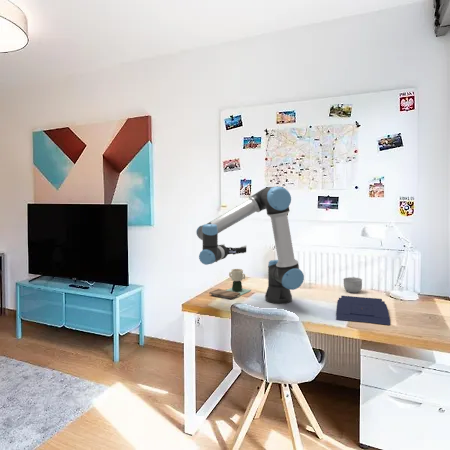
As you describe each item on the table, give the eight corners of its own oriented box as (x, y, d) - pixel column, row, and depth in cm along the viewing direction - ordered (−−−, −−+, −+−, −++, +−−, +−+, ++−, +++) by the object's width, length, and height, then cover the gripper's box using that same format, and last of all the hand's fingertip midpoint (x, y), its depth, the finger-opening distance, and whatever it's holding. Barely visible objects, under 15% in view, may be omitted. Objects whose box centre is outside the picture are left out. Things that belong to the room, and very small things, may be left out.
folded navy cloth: (385, 303, 195) (385, 297, 195) (390, 330, 168) (391, 323, 167) (337, 299, 203) (337, 293, 203) (335, 324, 176) (335, 317, 175)
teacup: (359, 295, 216) (359, 281, 215) (340, 292, 222) (341, 279, 221) (364, 289, 228) (365, 277, 227) (347, 287, 234) (347, 275, 233)
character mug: (247, 290, 226) (247, 269, 224) (242, 293, 219) (242, 272, 218) (232, 288, 231) (232, 268, 230) (226, 290, 225) (226, 270, 224)
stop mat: (251, 290, 227) (251, 289, 226) (240, 295, 217) (240, 294, 217) (233, 287, 234) (233, 286, 234) (222, 292, 224) (222, 291, 224)
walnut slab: (240, 296, 215) (240, 292, 215) (231, 300, 208) (231, 296, 208) (218, 292, 224) (218, 288, 224) (209, 295, 217) (209, 292, 217)
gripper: (197, 258, 195) (215, 252, 214) (240, 261, 185) (255, 254, 204) (197, 244, 194) (215, 239, 214) (240, 247, 184) (255, 241, 203)
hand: (234, 246), depth 209 cm, fingers open, 13 cm apart
